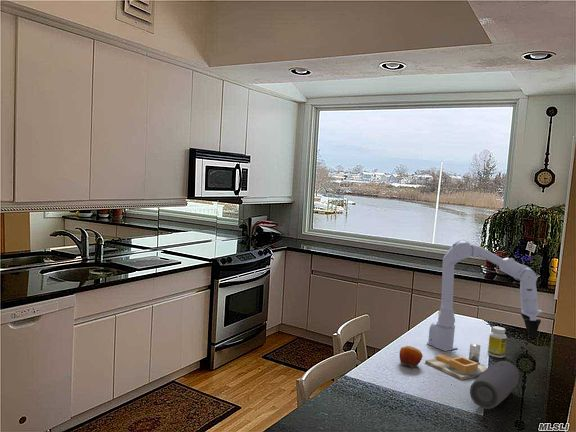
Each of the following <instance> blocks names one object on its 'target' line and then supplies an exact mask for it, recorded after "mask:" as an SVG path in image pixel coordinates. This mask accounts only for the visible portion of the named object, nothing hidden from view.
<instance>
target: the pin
mask: <svg viewBox="0 0 576 432" xmlns="http://www.w3.org/2000/svg"><path fill="white" fill-rule="evenodd" d="M480 354H481V345H480V344H477V343H470V344H469V352H468V359H469V360H471V361H474V362H476V363H479V362H480Z"/></svg>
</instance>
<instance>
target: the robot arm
mask: <svg viewBox="0 0 576 432" xmlns="http://www.w3.org/2000/svg"><path fill="white" fill-rule="evenodd" d="M470 256H471V257H472V258H477V257H480V258H482V259H484V260H486V261H488V262H490V263H493V264H495V265H496V266H498V267H499V270H500V271H501V272H503V273H505V274H507V275H509V276H511V277H513V279H518V280H520V281H519V285H520V286H519V292H520V305H521V310H520V311H521V312H520V315H521V318H522V319H523V322H524V325H525V329H526V332H528V334H529V337H530V338H537V337H538V332H539V326H540V324H541V322H542V320H541V319H537V316H538V315H539V314H542V313H543V311H542V310H541V309H539V304H538V303H539V302H538V290H537V289H538V288H537V280H538V276H537V273H536V272H535V271H534V270H533V269H531V267H529V266H527V265H525V264H521V263H519V262H518V261H516V260H515V259H514V258H513V257H510V258H509V257H504V258H502V257H500V256H498V255H497V254H495V253H493V252H491V251H489V250H488V249H486V248H484V247H482V246H480V245H477V244H476V243H474V242H469V241H467V240H465V239H461V240H458V241H456V242H455V243H453V244H452V245H451V247H450V248H449V250H448V251H447V252H446V253H445V255H444V256H443V258H442V269H441V270H442V275H441V300H440V303H441V304H440V309H439V310H438V313H437V314H438V315H437V316H438V319H437V321H434V322H432V323H431V324H430V326H429V330H428V339H427V340H428V341H427V342H426V344H427V345H430V346H432V347H433V348H436V349H439V350H441V351H444V352H447V351H451V350H452V351H453V350H457V349H458V347H457V345H456V346H455V345H454V341H455V340H454V339H455V331H456V325H455V323H456V318H455V312H454V310H453V309H454V284H455V282H454V281H455V280H454V279H455V265H456V264H458V263H459V262H460V261H462V260H465V259H468V258H470Z"/></svg>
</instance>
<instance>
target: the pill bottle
mask: <svg viewBox="0 0 576 432" xmlns="http://www.w3.org/2000/svg"><path fill="white" fill-rule="evenodd" d="M505 333H506V328H505V327H501V326H496V325H495V326H492V331H491V332H490V333H489V337H488V347H487V354H488V355H489V356H491V357H493V358H498V359H499V358H501V359H502V358H505V356H506V346H507V335H506V334H505Z"/></svg>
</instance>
